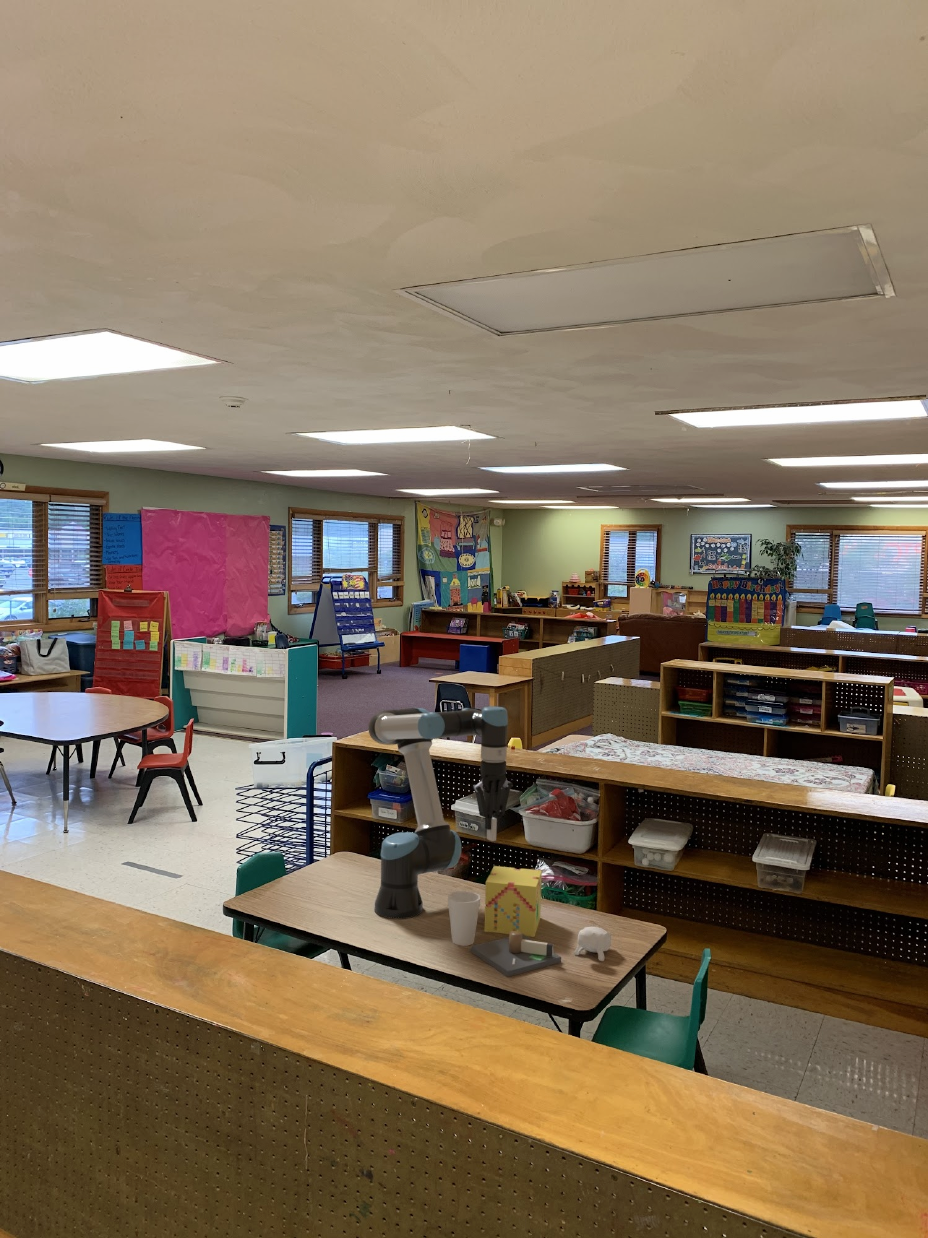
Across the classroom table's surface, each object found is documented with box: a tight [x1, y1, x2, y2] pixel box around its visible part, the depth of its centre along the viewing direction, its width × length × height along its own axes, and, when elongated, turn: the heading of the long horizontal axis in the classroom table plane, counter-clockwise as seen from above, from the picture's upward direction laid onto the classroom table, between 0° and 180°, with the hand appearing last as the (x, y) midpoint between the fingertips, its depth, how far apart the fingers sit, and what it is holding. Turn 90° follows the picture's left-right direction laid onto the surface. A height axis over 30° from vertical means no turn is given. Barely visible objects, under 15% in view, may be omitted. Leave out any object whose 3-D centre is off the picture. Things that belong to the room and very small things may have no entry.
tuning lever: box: [508, 931, 554, 957], centre depth 237 cm, size 12×4×5 cm, turn 72°
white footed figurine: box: [573, 926, 612, 962], centre depth 241 cm, size 9×8×15 cm
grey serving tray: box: [470, 934, 562, 978], centre depth 239 cm, size 18×18×2 cm
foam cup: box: [447, 890, 481, 947], centre depth 248 cm, size 10×9×13 cm
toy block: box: [484, 865, 543, 938], centre depth 262 cm, size 15×15×15 cm
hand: (491, 839), depth 252 cm, fingers closed
